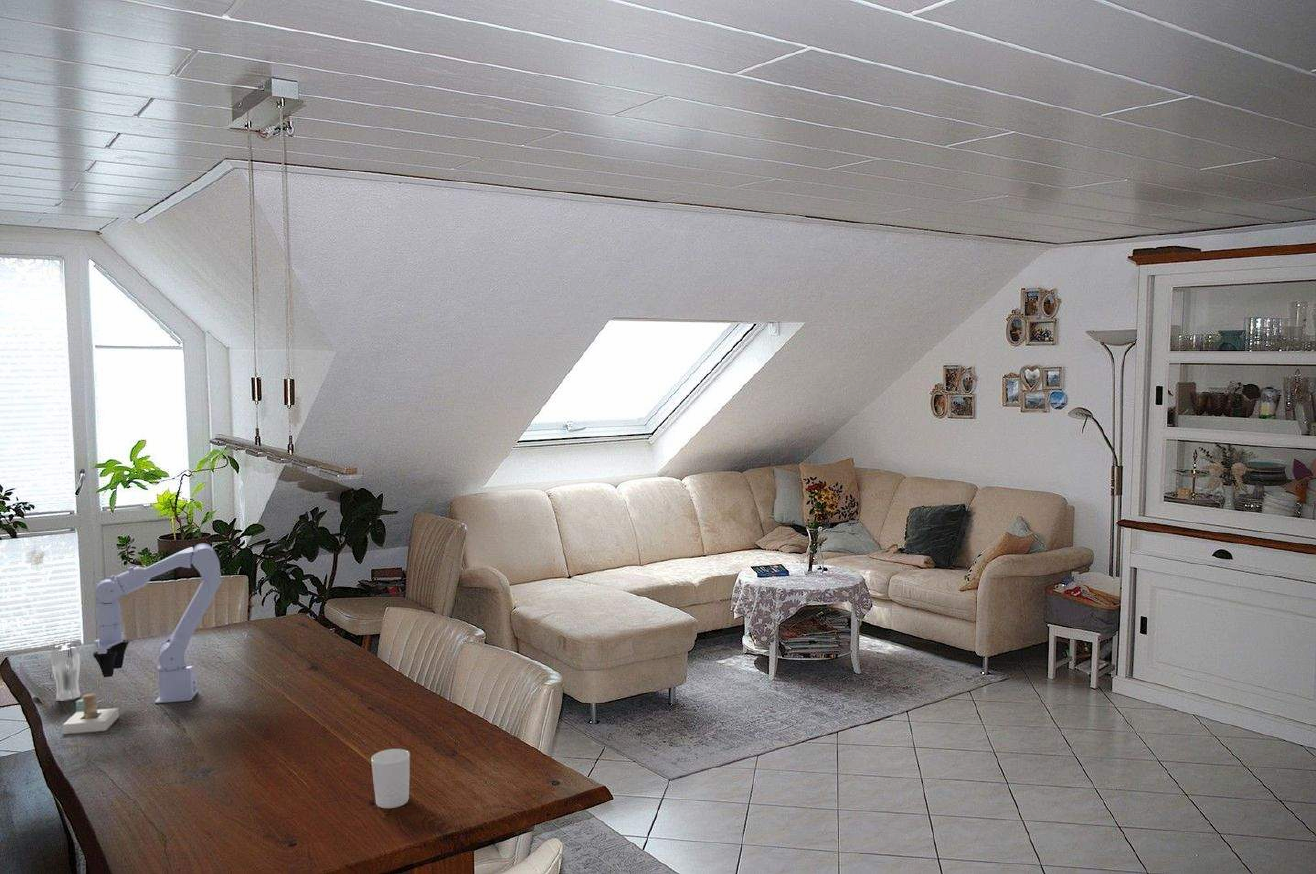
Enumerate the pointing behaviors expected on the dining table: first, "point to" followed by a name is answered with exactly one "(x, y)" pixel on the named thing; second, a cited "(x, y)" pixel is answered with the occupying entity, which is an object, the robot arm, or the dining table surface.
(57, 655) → the beer glass
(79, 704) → the short teal pin
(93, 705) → the long beech pin
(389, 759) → the white cup
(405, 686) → the dining table surface
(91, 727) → the collar block
